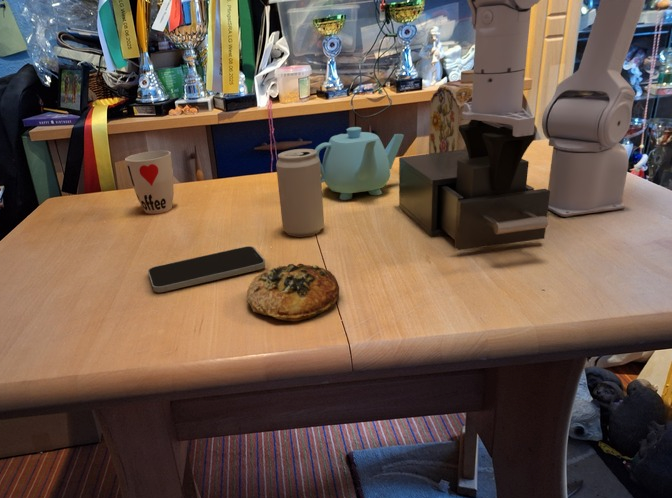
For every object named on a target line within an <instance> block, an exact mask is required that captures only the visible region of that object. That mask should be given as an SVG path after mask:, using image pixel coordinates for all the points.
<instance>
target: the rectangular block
mask: <svg viewBox="0 0 672 498" xmlns="http://www.w3.org/2000/svg"><path fill="white" fill-rule="evenodd" d="M529 164H530V162H529V160H526V159H524V158H522V159H521V161H520V163H519V166H518V168H517V171H516V174H515V176H514V179H513V182H512V185H511V187H510V189H507V190H499V191H494V190H492V187H491V181H490V162H489V156H485V157H477V158H470V159H462V160H457V182H456V193H458V194H459V195H461V196H462V197H464V198H465V199H470V198H478V197H485V196H493V195H500V194H508V193H515V192H523V191H526V184H527V182H528V173H529Z"/></svg>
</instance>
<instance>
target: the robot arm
mask: <svg viewBox="0 0 672 498" xmlns="http://www.w3.org/2000/svg"><path fill="white" fill-rule="evenodd" d="M466 1H467V2H466V3H467V4H468V7H469V8H470V12H471V25H472V28H473V30H475V34H474V35H475V36H474V39H475V40H474V57H473V69H474V71H473V72H474V73H473V90H472V102H469V103H464V112H463V113H462V118H463V119H466V120H471V122H469V124H464V125H460V126H459V132H460V133H461V135H462V137H463V140H464V142H465V145H466V148H467V151H468V156H469V159H470V158H477V157H485V156H489V162H490V181H491V187H492V190H494V191H499V190H507V189H510V187H511V185H512V182H513V179H514V176H515V174H516V171H517V168H518V166H519V163H520V161H521V159H523V157H524V155H525V153H526V152H527V150H528V148H529V147H530V145H532V143H533V142H534V140H535V138H536V132H535V123H536V122H535V121H536V117H535V116H533V115H530V114H529V113H528V112H527V111H526V110H525V108H524V107H523V100H524V90H525V89H524V88H525V78H526V67H527V57H528V46H529V45H528V44H529V33H530V24H531V23H530V22H531V14H532V13H531V12H532V8H533V6H535V5H537V4H539V2H540V1H541V0H466ZM645 3H646V0H600V1H599V5H598V7H597V11H596V14H595V17H594V20H593V22H592V25H591V29H590V32H589V34H588V38H587V42H586V45H585V48H584V51H583V54H582V57H581V60H580V63H579V67H578V69H577V70H576V71H575V72H574V73H572V74H570V75H568V77H566V78H565V79H563V80H562V81H560V82H559V83H558V84H557V85H556V88H555V91H554V94H553V96H552V98H551V100H550V101H549V102H548V104H547V106H546V107H545V109H544V112H543V114H542V119H541V128H542V133H543V136H544V137H545V138H546V139H547V140H548V147H552V154H551V160H550V161H551V163H550V170H549V177H548V178H549V179H548V186H547V190H549V191H550V197H549V205H548V211H551V212H552V213H554V214H556V215H558V216H560V217H563V218H564V217H572V216H579V215H586V214H593V213H594V214H595V213H601V212H602V213H603V212H608V211H615V210H624V209H625V208H626V205H625V204H623V203H622V202H623V196H624V192H625V191H624V190H625V187H626V180H627V175H628V169H629V156H628V152H627V149H626V148H625V146H623V145H622V144H620V142H621V141H622V140H623V139H624V137H626V135H627V133H628V131H629V128H630V125H631V121H632V116H633V115H632V110H633V106H634V102H635V97H636V92H635V90H634V88H633V87H632V86H631V84H629V82H628V81H627V80H626V79H625V78H624V77H623V76H622V75H621V73H622V71H623V68H624V66H625V65H624V64H625V62H626V58H627V55H628V54H629V53H628V52H629V50H630V46H631V44H632V41H633V38H634V35H635V33H636V31H637V26H638V24H639V21H640V18H641V15H642V11H643V9H644V6H645Z"/></svg>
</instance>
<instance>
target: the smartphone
mask: <svg viewBox="0 0 672 498" xmlns="http://www.w3.org/2000/svg"><path fill="white" fill-rule="evenodd" d="M265 262H266V261H265V259H264V258H263V256H262V255H261V254H260V253H259V252H258V251H257V249H256V248H255V247H254V246H249V245H247V246H241V247H238V248H237V247H236V248H233V249H228V250H224V251H220V252H215V253H210V254H205V255H201V256H197V257H192V258H187V259H183V260H179V261H174V262H173V261H172V262H169V263H165V264H161V265H155V266H152V267H150V268H148V270H147V272H148V277H149V280H150V282H151V287H152V290H153V291H154V293H164V292H169V291H174V290H177V289H182V288H185V287H186V288H187V287H190V286H195V285H200V284H203V283H208V282H213V281H216V280H220V279H225V278H229V277H235V276H237V275H242V274H247V273H251V272H255V271H259V270H262V269H264V268H265V267H266V263H265Z"/></svg>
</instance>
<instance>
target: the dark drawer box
mask: <svg viewBox="0 0 672 498" xmlns="http://www.w3.org/2000/svg"><path fill="white" fill-rule="evenodd" d="M549 197H550V191H549V190H548V188H539V189H535V188H534V187H533V186H530V185H529V184H527V183H526V191H523V192H515V193H508V194H500V195H493V196H485V197H478V198H470V199H465V198H464V197H462V196H461V195H459V194H458V193H456V183H451V184H444V185H438V202H437V225H438V226H439V227H441V228H442V229H443V230H444V231H445V232H446V233H448V235H449V236H450V237H451V238H452V239H453V240H454V249H456V250H457V251H464V250H470V249H477V248H479V249H480V248H485V247H493V246H500V245H508V244H514V243H522V242H528V241H534V240H535V241H537V240H543V239H545V236H546V229H547V227H548V225H549V221H548V213H549V209H548V205H549Z"/></svg>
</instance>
